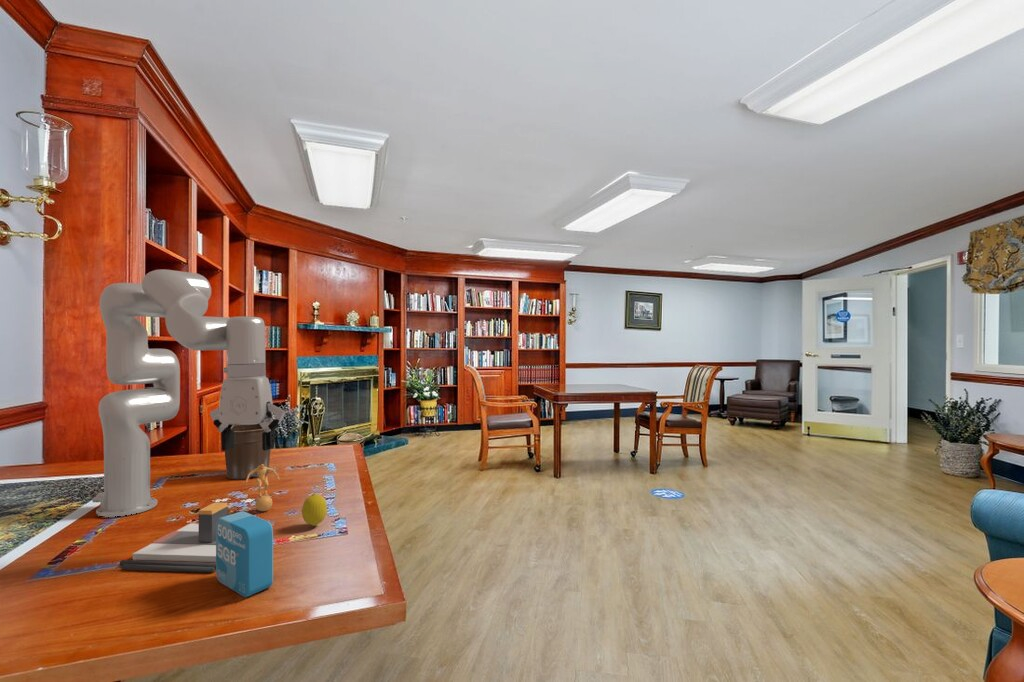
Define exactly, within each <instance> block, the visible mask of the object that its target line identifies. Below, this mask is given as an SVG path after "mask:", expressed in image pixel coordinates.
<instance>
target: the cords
mask: <svg viewBox="0 0 1024 682" xmlns="http://www.w3.org/2000/svg"><path fill="white" fill-rule="evenodd" d="M119 566H120V567H121V570H123V571H145V572H146V571H148V572H149V571H150V572H151V571H153V572H181V573H207V574H208V573H209V574H213V573H214V572H216V562H196V561H163V560H133V559H131V560H127V559H121V560H120V562H119Z"/></svg>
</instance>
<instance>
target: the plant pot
mask: <svg viewBox="0 0 1024 682" xmlns="http://www.w3.org/2000/svg"><path fill="white" fill-rule="evenodd" d="M231 430H234V447H233V448H231V449H228V450H224V458H225V460H224V461H225V470H226V478H228V479H229V480H237V481H240V480H246V479H247V476H248V474H249V473H250V472H251V471H253V470H254V469H256V468H257V467H258V466H260V465H261V464H263V465H264V466H265V467H268V468H270V459H271V451H272V449H269V450H267V451H264V450H263V449H262V433H263V432H265V430H264V429H263V428H262V427H261V426H260V424H259V423H258V424H250V425H234V426H233V427H232V429H231ZM269 472H270V471H269V470H266V473H265V474H266V475H267V474H268V473H269ZM252 477H253V478H259V476H258V474H257V472H254V473H253V474H251V475H250V476H249V479H251V478H252Z"/></svg>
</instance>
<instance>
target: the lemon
mask: <svg viewBox="0 0 1024 682" xmlns="http://www.w3.org/2000/svg"><path fill="white" fill-rule="evenodd" d="M301 507H302V508H301V515H302V519H303V521H304V522H305V523H306V524H308V525H310V526H312V527H313V526H315V527H317V526H318V525H319V524H321V523H322V522H323V521H324V519H325V518H326V516H327V511H328V505H327V501H326V499H325V497H323V496H322V495H320V494H317V493H316V492H314V493H312V494H311V495H309V496H307V498H305V500H304V502H303V504H302V506H301Z"/></svg>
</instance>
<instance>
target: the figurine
mask: <svg viewBox="0 0 1024 682" xmlns="http://www.w3.org/2000/svg"><path fill="white" fill-rule="evenodd" d="M266 470H269V472H273V474H274V475H275V476H276V477H277V478H276V479H278V481H280V477H279V474H278V473H277V471H276V470H275V469H273V468H271V467H269V468H268V467H265V466H264V465H263V464H261V465H260V466H258V467H257V468H256V469H254V470H253V471H251V472H250V473H249V474H248V476H247V479H245V482H244V486H245V487H247V486H248V484H249V482H248V481H249V480H250V478H249V476H250V475H251V474H253V473H254V472H257V474H258V476H259V477H256V484H257V487H258V488H257V491H258V498H257V499H256V501H255V508H256V510H257V511H259V512H266V511H268V510H270V509H271V508H272V506H273V499H272V497H270V496H269V494H268V491H267V490H268V487H269V481H268V479H269V477H268V476H266V475H265V473H266ZM262 482H263V483H262ZM263 484H264V485H265V487H264V495H262V491H261V490H262V488H261V487H262V485H263Z"/></svg>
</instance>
